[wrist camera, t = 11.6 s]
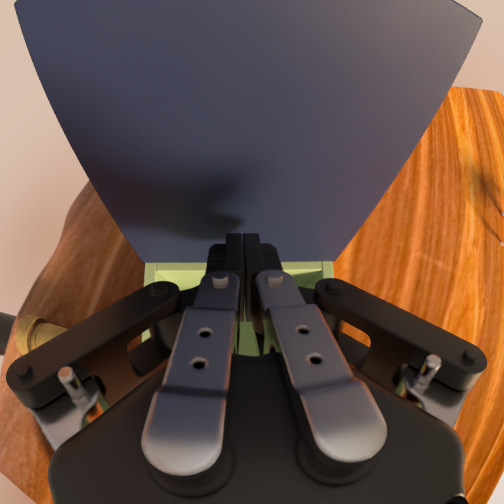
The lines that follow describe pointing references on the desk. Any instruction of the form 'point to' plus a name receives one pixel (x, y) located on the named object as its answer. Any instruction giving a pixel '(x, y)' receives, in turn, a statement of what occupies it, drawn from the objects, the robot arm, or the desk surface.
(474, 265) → the desk surface
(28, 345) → the gavel
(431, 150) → the desk surface
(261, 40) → the lid
